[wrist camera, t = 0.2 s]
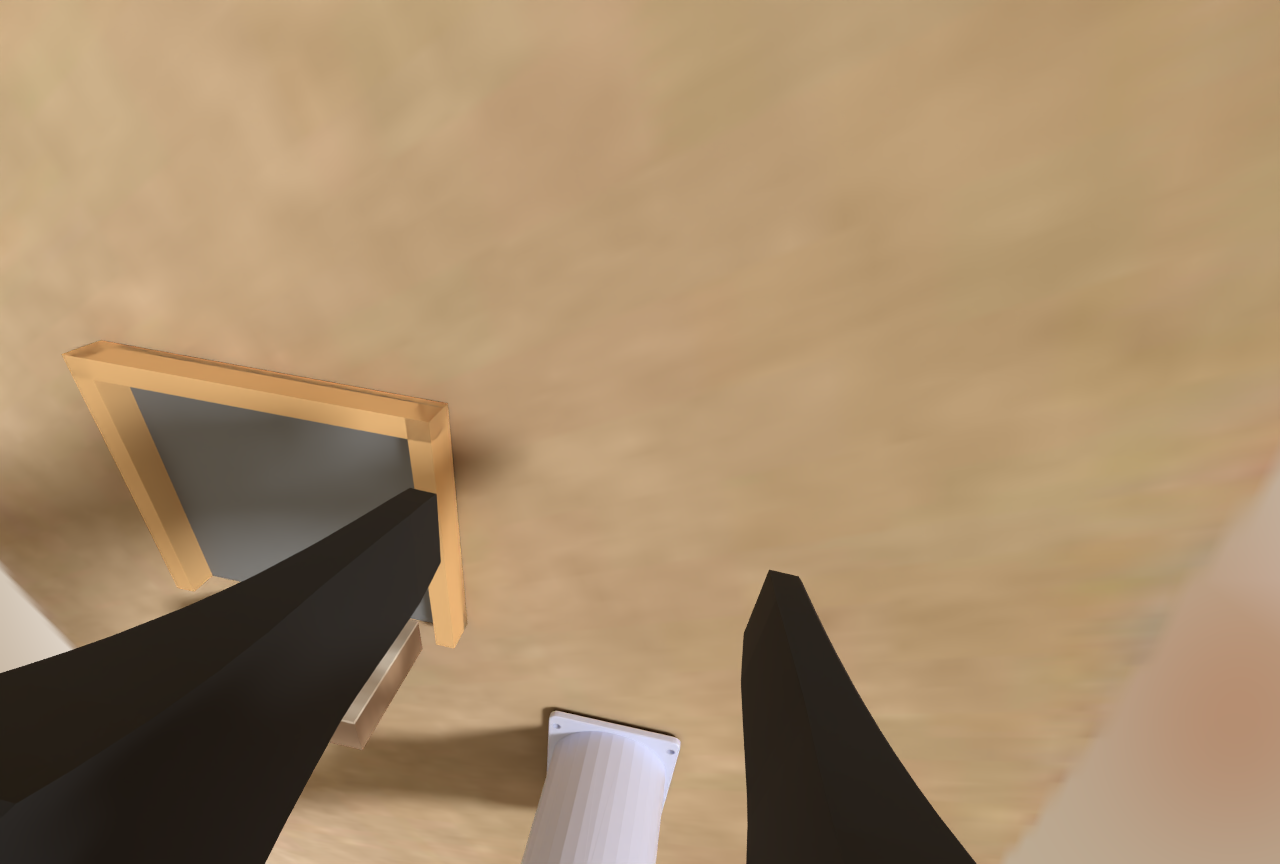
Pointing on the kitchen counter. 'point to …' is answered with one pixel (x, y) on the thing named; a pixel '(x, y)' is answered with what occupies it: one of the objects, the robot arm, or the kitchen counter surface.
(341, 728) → the slab
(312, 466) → the chalkboard
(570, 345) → the kitchen counter surface
